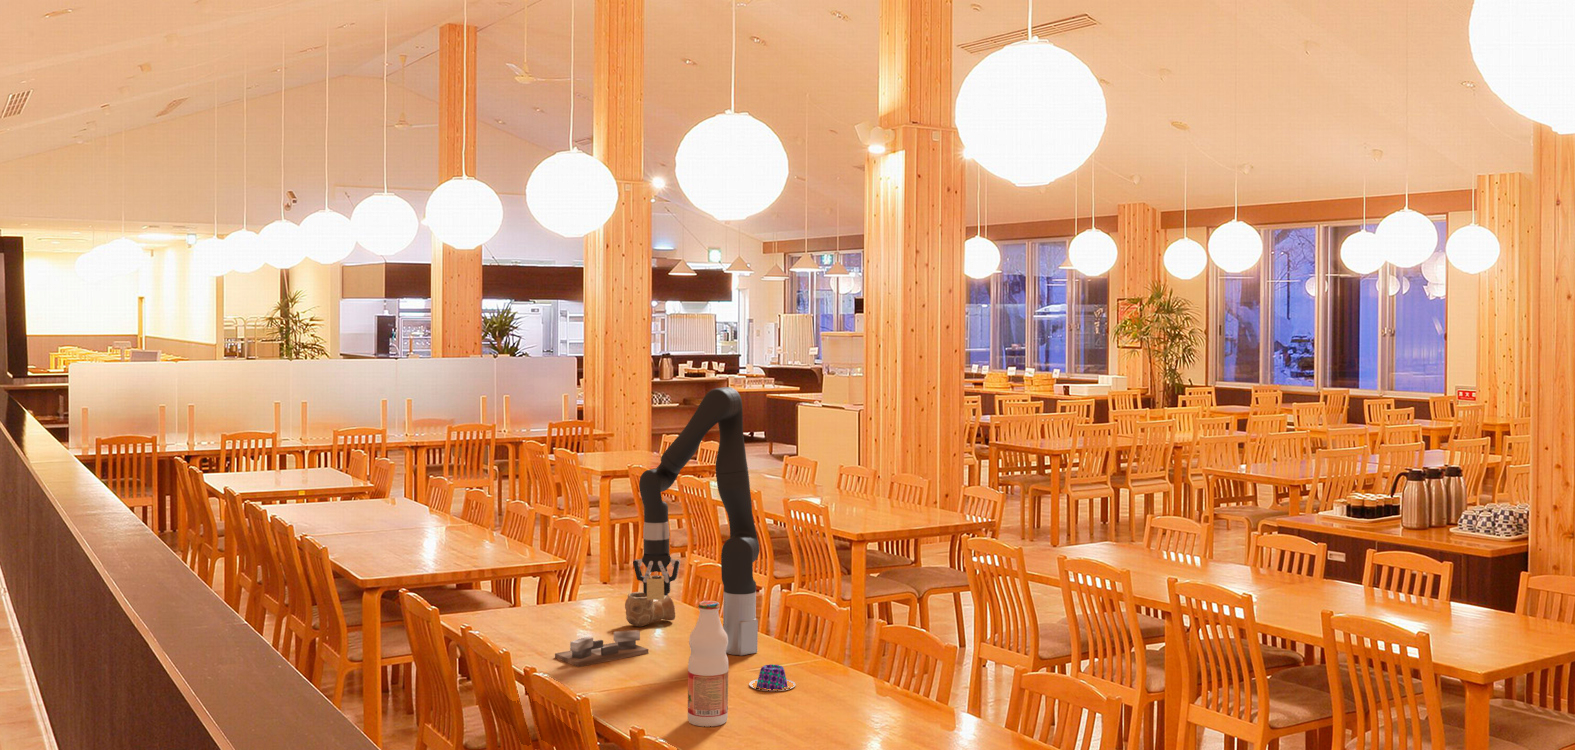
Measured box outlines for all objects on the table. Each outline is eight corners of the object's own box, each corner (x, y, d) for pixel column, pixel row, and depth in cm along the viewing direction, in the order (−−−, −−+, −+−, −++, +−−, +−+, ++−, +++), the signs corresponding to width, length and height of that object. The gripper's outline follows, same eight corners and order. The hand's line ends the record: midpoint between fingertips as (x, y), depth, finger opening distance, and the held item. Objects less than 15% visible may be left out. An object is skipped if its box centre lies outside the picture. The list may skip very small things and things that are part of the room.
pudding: (803, 685, 330) (804, 665, 330) (780, 696, 320) (781, 675, 320) (764, 678, 336) (764, 658, 336) (740, 689, 326) (740, 668, 326)
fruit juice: (706, 730, 291) (708, 608, 290) (679, 721, 298) (680, 602, 297) (736, 721, 298) (737, 602, 297) (708, 712, 305) (709, 596, 304)
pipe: (679, 623, 395) (680, 591, 394) (636, 631, 384) (636, 598, 384) (662, 618, 402) (662, 586, 401) (619, 625, 391) (619, 593, 390)
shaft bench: (648, 653, 358) (648, 632, 358) (578, 666, 343) (578, 645, 343) (624, 644, 367) (624, 624, 367) (554, 657, 352) (555, 636, 352)
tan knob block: (666, 596, 374) (666, 574, 374) (663, 599, 369) (663, 578, 369) (649, 595, 374) (649, 574, 374) (646, 599, 369) (646, 577, 369)
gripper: (629, 538, 368) (630, 597, 368) (678, 539, 367) (679, 597, 367) (634, 534, 375) (635, 592, 376) (682, 535, 374) (683, 592, 375)
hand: (656, 594), depth 372 cm, fingers closed on tan knob block, 5 cm apart
